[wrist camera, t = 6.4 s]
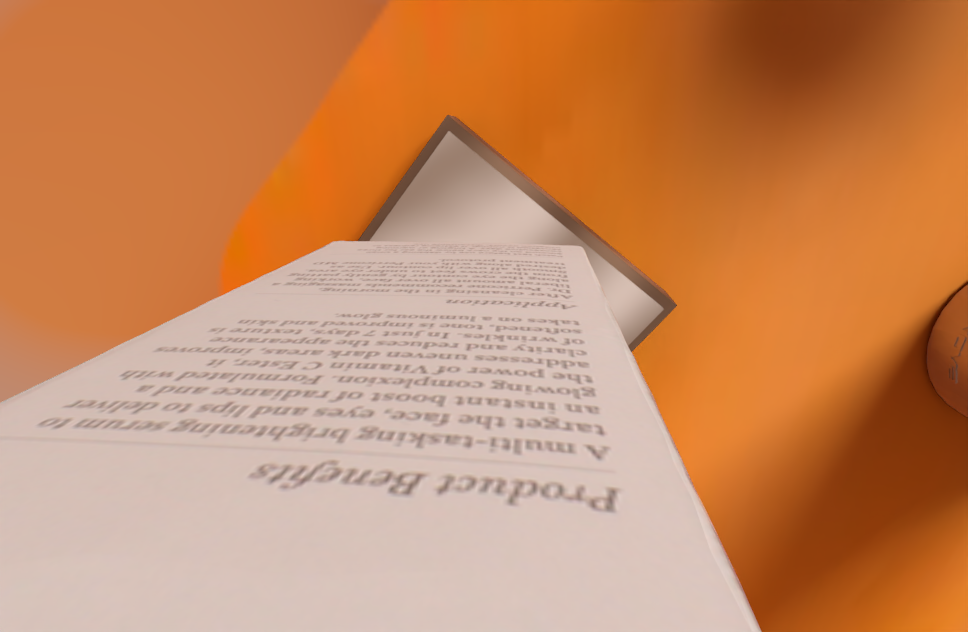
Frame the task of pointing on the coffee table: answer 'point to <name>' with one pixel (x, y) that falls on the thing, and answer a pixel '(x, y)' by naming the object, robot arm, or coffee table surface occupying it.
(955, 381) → the robot arm
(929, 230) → the coffee table surface
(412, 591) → the small box
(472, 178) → the tray
